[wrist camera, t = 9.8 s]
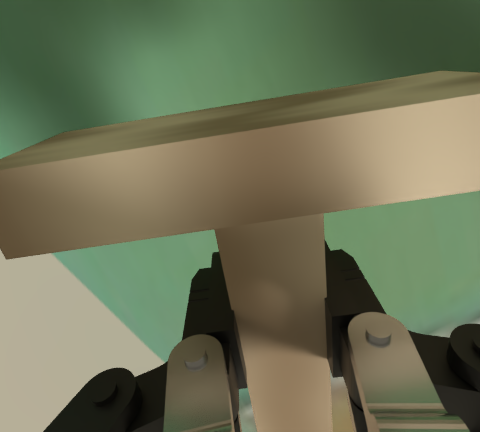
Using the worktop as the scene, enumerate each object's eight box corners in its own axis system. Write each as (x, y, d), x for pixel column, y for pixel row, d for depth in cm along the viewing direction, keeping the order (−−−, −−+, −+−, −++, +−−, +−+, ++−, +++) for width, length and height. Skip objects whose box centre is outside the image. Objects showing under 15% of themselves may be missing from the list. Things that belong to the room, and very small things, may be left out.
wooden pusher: (440, 70, 10) (581, 77, 6) (409, 348, 15) (473, 450, 11) (63, 132, 10) (-41, 176, 6) (159, 379, 16) (135, 488, 12)
